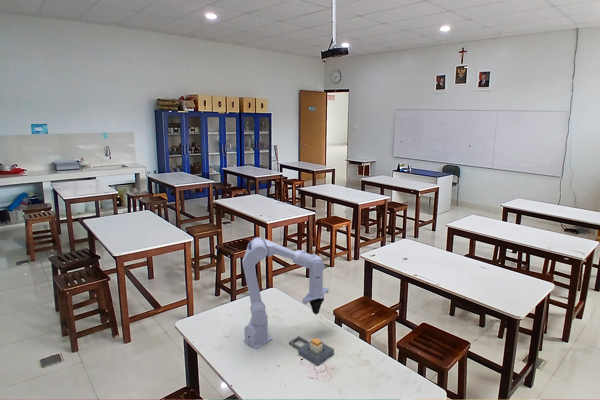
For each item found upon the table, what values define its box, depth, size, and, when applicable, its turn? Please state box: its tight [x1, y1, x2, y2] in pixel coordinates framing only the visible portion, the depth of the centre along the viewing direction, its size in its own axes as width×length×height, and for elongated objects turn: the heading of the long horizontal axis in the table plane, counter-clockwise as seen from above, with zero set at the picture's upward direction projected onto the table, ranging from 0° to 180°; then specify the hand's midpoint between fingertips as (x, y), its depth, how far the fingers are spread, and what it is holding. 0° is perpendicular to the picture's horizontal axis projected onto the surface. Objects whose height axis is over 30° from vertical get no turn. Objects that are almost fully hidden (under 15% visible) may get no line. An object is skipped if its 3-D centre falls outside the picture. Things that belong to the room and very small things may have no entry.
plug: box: [310, 337, 322, 355], centre depth 152 cm, size 3×4×6 cm
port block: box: [297, 341, 335, 366], centre depth 152 cm, size 10×10×2 cm
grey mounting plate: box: [288, 335, 311, 351], centre depth 158 cm, size 6×7×1 cm
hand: (315, 313), depth 165 cm, fingers closed
